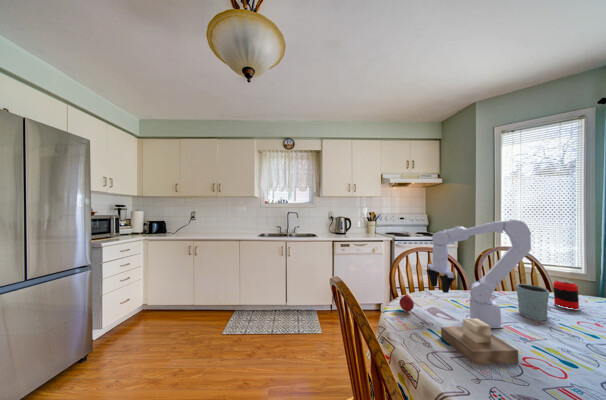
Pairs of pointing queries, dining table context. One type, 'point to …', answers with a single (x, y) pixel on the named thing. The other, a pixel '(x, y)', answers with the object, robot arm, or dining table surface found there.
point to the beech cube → (477, 330)
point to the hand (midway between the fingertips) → (439, 289)
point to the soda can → (566, 294)
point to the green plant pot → (532, 301)
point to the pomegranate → (406, 303)
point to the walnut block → (480, 347)
